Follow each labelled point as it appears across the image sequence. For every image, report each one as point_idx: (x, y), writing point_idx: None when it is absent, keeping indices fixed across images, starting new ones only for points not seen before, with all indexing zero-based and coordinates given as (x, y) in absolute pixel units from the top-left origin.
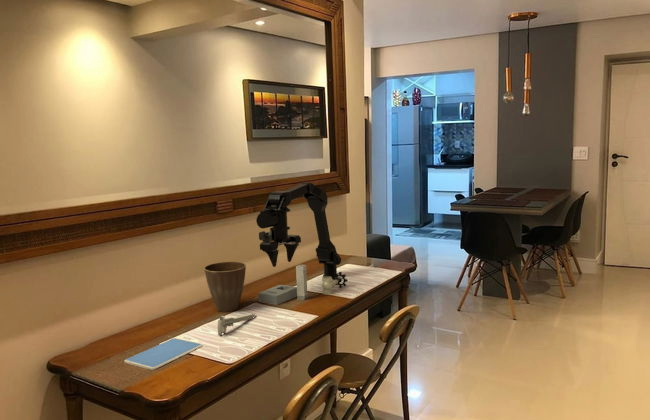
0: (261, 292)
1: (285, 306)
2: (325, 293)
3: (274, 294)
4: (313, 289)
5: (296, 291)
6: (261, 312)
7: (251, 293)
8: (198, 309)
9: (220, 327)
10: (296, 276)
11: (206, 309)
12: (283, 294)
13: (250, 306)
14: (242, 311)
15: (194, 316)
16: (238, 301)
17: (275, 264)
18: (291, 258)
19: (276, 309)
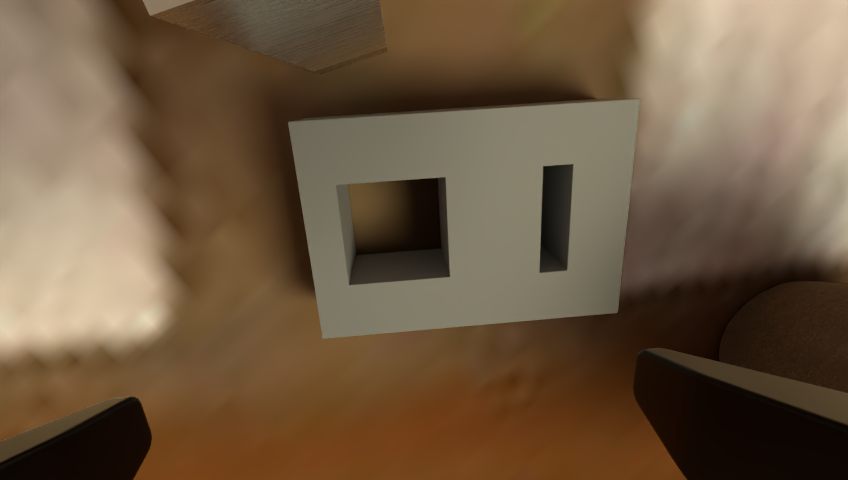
0: (597, 298)
1: (596, 5)
2: None
3: (606, 153)
4: (64, 134)
5: (320, 118)
6: (792, 76)
7: (453, 446)
8: None
9: None
10: (379, 2)
11: None
12: (527, 106)
13: (693, 252)
14: (805, 218)
15: None
16: (838, 290)
17: (714, 361)
18: (36, 434)
19: (691, 18)
